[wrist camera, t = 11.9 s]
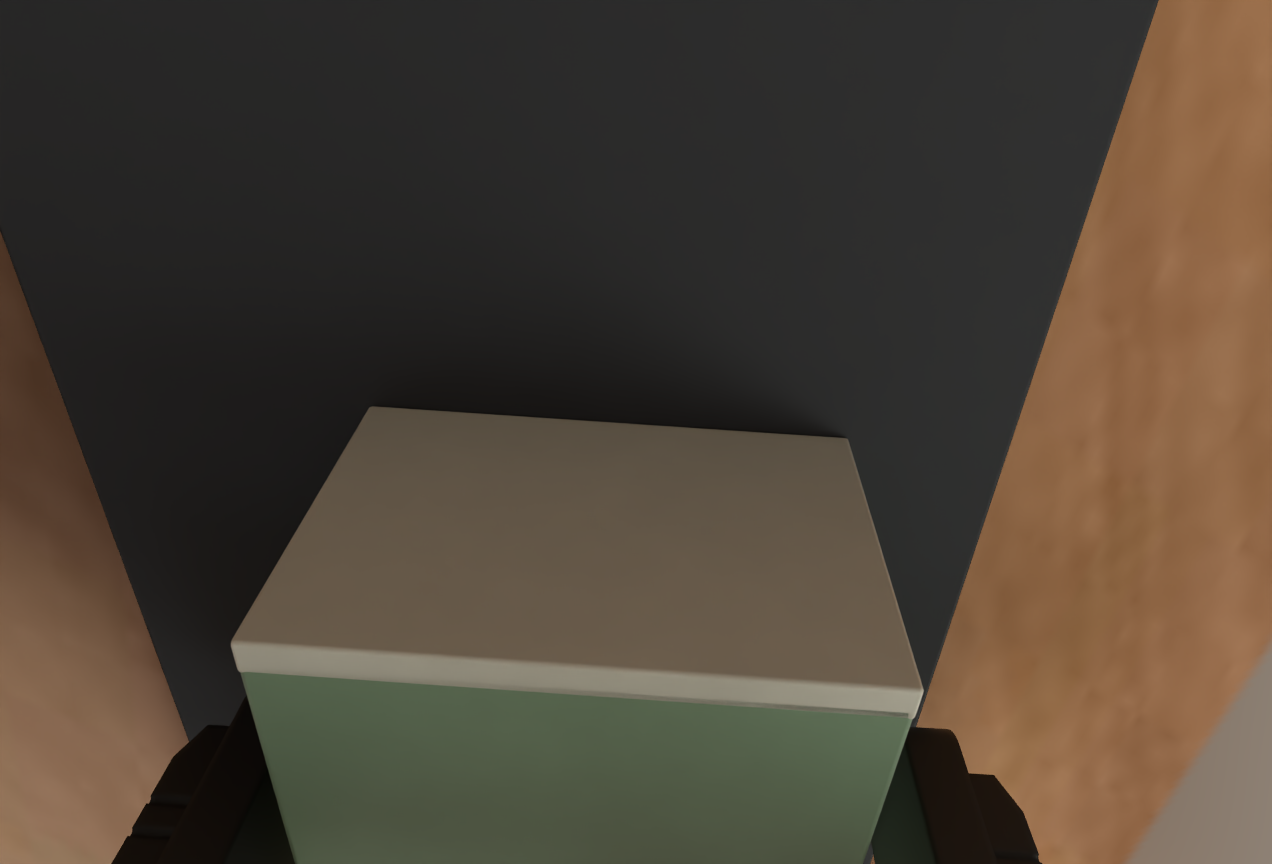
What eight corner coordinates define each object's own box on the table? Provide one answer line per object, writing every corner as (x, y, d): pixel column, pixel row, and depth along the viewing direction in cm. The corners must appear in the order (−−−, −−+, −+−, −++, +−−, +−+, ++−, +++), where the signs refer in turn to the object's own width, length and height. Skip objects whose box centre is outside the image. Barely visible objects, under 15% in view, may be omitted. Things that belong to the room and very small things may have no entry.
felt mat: (-95, -149, 8) (-145, -151, 8) (1157, -85, 8) (1189, -83, 8) (244, 830, 17) (230, 859, 16) (854, 870, 17) (859, 901, 16)
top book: (368, 404, 11) (227, 643, 7) (848, 436, 11) (927, 692, 7) (427, 835, 16) (358, 1096, 12) (755, 858, 16) (775, 1125, 12)
